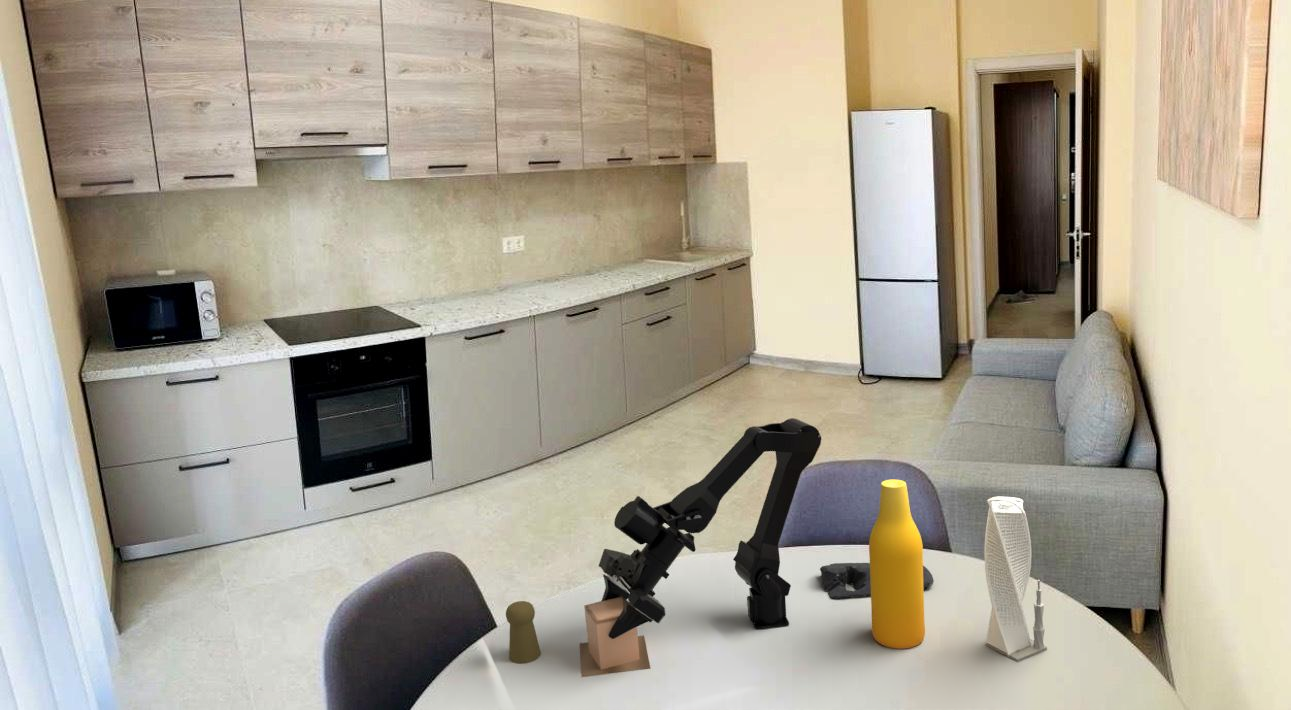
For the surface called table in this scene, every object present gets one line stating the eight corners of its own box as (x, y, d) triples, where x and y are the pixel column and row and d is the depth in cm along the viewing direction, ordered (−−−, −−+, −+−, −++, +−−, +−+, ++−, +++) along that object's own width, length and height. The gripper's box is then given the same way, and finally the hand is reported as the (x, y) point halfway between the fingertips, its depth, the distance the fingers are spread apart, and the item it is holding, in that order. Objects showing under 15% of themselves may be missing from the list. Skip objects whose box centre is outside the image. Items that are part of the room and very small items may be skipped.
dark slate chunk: (939, 598, 186) (939, 575, 185) (825, 602, 188) (824, 580, 187) (923, 565, 201) (923, 544, 200) (817, 569, 203) (816, 548, 202)
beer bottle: (929, 628, 174) (925, 476, 168) (920, 653, 166) (916, 494, 160) (877, 621, 178) (872, 473, 172) (867, 645, 170) (861, 490, 164)
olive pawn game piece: (536, 669, 171) (530, 612, 169) (504, 668, 172) (497, 611, 170) (546, 652, 177) (540, 597, 174) (515, 651, 178) (509, 596, 176)
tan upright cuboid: (626, 641, 176) (621, 596, 174) (639, 659, 169) (635, 612, 168) (588, 651, 174) (584, 605, 172) (601, 669, 167) (596, 622, 165)
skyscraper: (1011, 664, 160) (1010, 505, 154) (974, 644, 167) (972, 492, 161) (1046, 649, 164) (1047, 494, 158) (1009, 630, 171) (1008, 481, 165)
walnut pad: (644, 640, 178) (643, 635, 178) (651, 673, 166) (650, 668, 166) (580, 648, 177) (579, 643, 177) (582, 682, 165) (581, 676, 165)
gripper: (607, 517, 177) (555, 585, 176) (642, 552, 160) (585, 628, 158) (650, 548, 181) (600, 615, 180) (689, 585, 164) (633, 660, 162)
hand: (603, 628), depth 170 cm, fingers closed on tan upright cuboid, 7 cm apart
